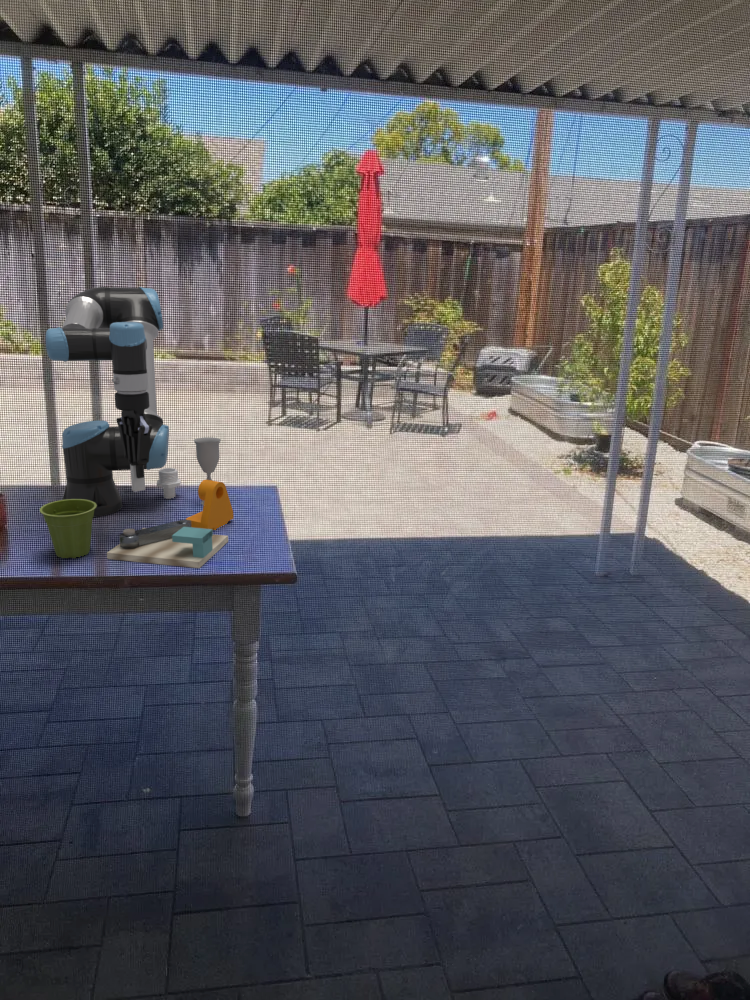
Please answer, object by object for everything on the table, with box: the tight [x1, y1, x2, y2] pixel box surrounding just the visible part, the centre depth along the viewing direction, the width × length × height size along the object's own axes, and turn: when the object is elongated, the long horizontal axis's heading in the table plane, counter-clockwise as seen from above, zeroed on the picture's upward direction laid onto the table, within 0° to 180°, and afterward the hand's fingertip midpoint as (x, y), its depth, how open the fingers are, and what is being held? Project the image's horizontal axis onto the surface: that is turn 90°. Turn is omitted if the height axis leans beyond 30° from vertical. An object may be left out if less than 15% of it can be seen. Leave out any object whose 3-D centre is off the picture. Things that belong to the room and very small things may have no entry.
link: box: [118, 519, 192, 549], centre depth 174 cm, size 18×4×2 cm, turn 134°
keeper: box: [172, 527, 214, 558], centre depth 167 cm, size 7×6×5 cm
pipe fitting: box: [156, 467, 182, 500], centre depth 210 cm, size 6×7×8 cm
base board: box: [106, 527, 229, 569], centre depth 172 cm, size 22×17×5 cm
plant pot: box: [39, 499, 97, 559], centre depth 167 cm, size 12×12×11 cm
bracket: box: [185, 479, 235, 531], centre depth 188 cm, size 11×7×12 cm, turn 155°
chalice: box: [193, 436, 222, 506], centre depth 204 cm, size 7×7×18 cm
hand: (138, 490), depth 177 cm, fingers closed
